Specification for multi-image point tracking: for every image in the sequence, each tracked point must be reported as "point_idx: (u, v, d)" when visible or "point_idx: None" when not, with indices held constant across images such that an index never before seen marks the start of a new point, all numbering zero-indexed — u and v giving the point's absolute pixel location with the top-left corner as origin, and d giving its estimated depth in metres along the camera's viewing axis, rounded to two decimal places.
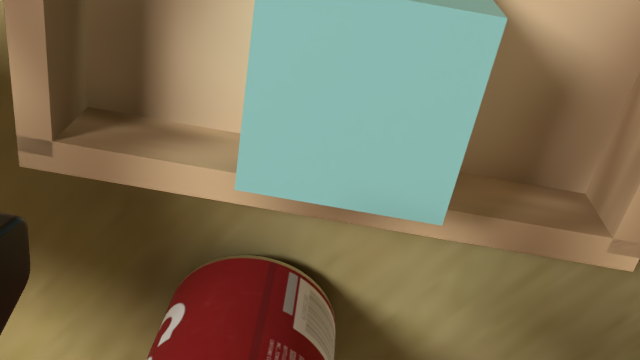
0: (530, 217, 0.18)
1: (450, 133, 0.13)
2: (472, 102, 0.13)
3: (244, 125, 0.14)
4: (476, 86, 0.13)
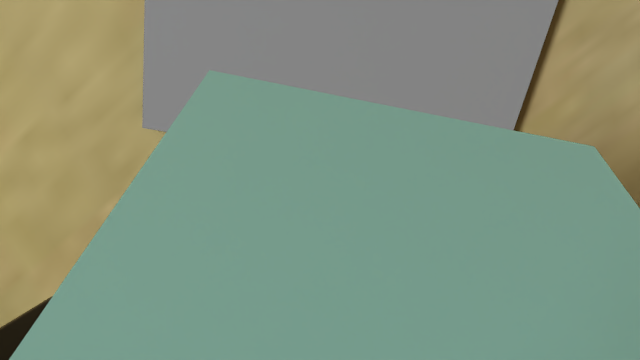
0: None
1: None
2: None
3: None
4: None
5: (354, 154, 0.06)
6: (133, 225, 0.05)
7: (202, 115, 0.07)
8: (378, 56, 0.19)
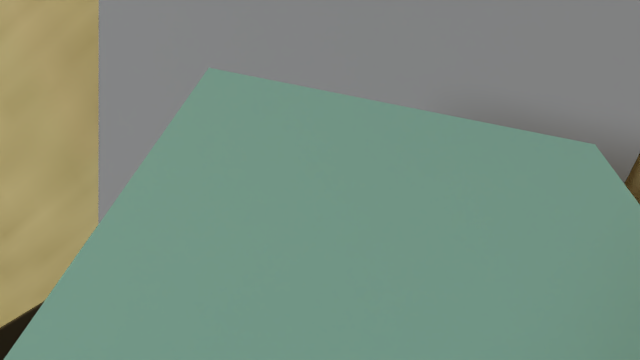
0: None
1: None
2: None
3: None
4: None
5: (354, 151, 0.06)
6: (131, 222, 0.05)
7: (201, 112, 0.06)
8: None
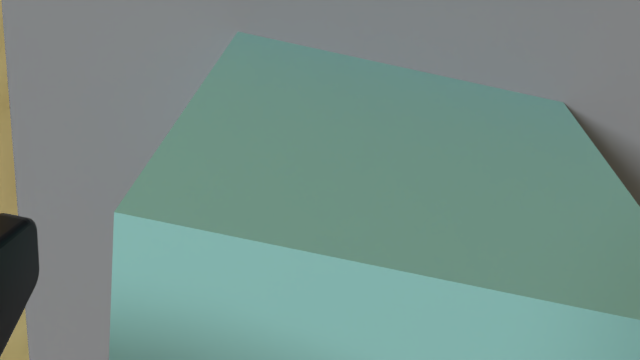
0: None
1: None
2: None
3: None
4: None
5: (361, 97, 0.08)
6: (192, 133, 0.06)
7: (235, 63, 0.08)
8: None
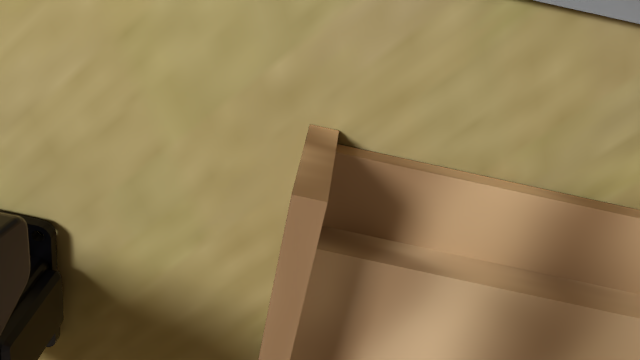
0: None
1: None
2: None
3: None
4: None
5: None
6: None
7: None
8: None
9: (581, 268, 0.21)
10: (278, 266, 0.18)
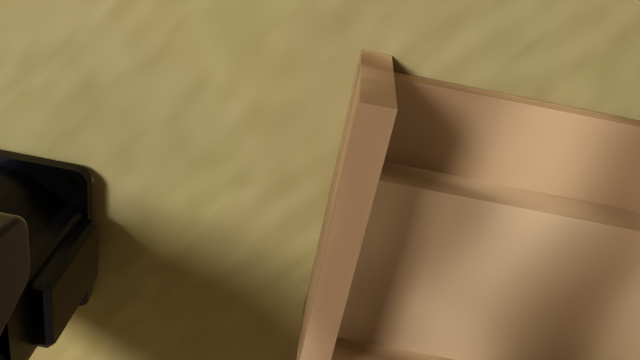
0: None
1: None
2: None
3: None
4: None
5: None
6: None
7: None
8: None
9: None
10: (342, 185, 0.17)
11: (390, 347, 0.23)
